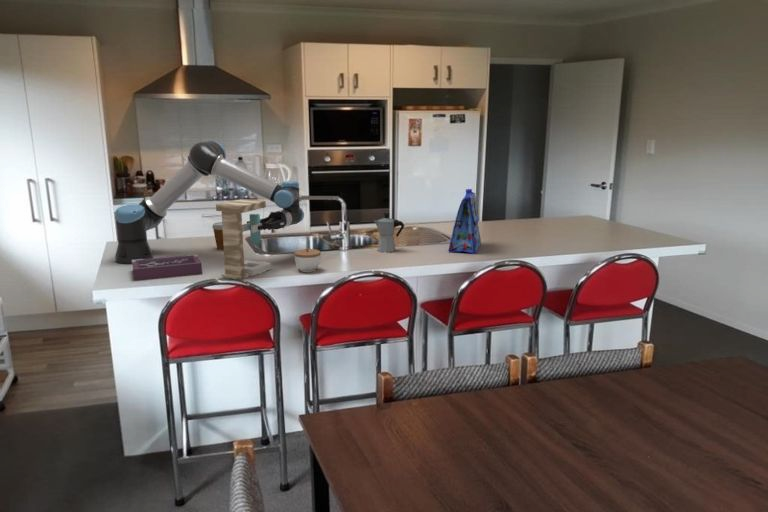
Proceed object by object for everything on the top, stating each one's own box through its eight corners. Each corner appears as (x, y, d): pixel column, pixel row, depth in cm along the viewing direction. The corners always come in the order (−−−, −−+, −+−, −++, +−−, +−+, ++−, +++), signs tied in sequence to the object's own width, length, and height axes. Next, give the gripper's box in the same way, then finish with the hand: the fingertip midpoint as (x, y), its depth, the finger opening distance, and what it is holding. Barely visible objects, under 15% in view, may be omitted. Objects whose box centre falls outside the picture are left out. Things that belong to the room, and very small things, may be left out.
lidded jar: (296, 274, 231) (295, 251, 229) (293, 267, 241) (292, 245, 239) (323, 272, 234) (322, 250, 232) (318, 266, 244) (318, 244, 242)
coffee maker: (370, 251, 271) (370, 213, 266) (376, 247, 279) (376, 210, 275) (401, 254, 266) (401, 215, 262) (406, 249, 275) (406, 212, 270)
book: (197, 265, 246) (196, 254, 244) (202, 274, 231) (201, 262, 230) (132, 271, 235) (131, 259, 234) (133, 281, 221) (132, 269, 220)
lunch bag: (476, 254, 267) (479, 192, 260) (447, 252, 270) (449, 190, 263) (481, 244, 287) (484, 186, 280) (454, 243, 291) (456, 185, 284)
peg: (252, 244, 234) (251, 215, 231) (249, 242, 238) (248, 214, 235) (262, 243, 236) (260, 214, 233) (259, 242, 240) (257, 213, 237)
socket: (253, 276, 228) (253, 270, 228) (229, 272, 233) (228, 266, 232) (271, 269, 239) (271, 263, 238) (247, 265, 244) (247, 260, 243)
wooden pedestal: (243, 280, 222) (239, 206, 216) (218, 276, 227) (214, 204, 220) (268, 270, 237) (265, 201, 230) (244, 267, 242) (240, 199, 235)
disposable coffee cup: (228, 251, 270) (227, 225, 267) (209, 250, 272) (208, 225, 269) (237, 246, 279) (236, 222, 276) (219, 245, 281) (217, 221, 278)
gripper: (296, 229, 249) (265, 240, 228) (263, 226, 255) (230, 236, 234) (296, 212, 247) (264, 221, 226) (262, 209, 254) (229, 218, 233)
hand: (247, 228), depth 230 cm, fingers closed on peg, 4 cm apart
